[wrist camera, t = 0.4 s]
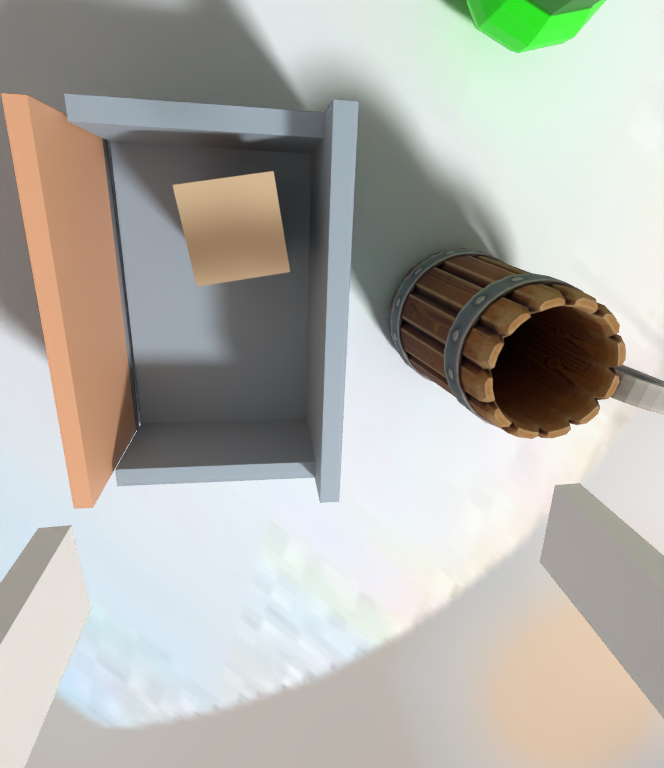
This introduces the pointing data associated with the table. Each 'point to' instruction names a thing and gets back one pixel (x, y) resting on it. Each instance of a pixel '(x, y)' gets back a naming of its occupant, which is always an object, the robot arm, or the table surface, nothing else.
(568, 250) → the table surface
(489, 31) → the plastic bottle
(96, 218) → the panel
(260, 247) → the wooden block
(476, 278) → the mug
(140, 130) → the box
